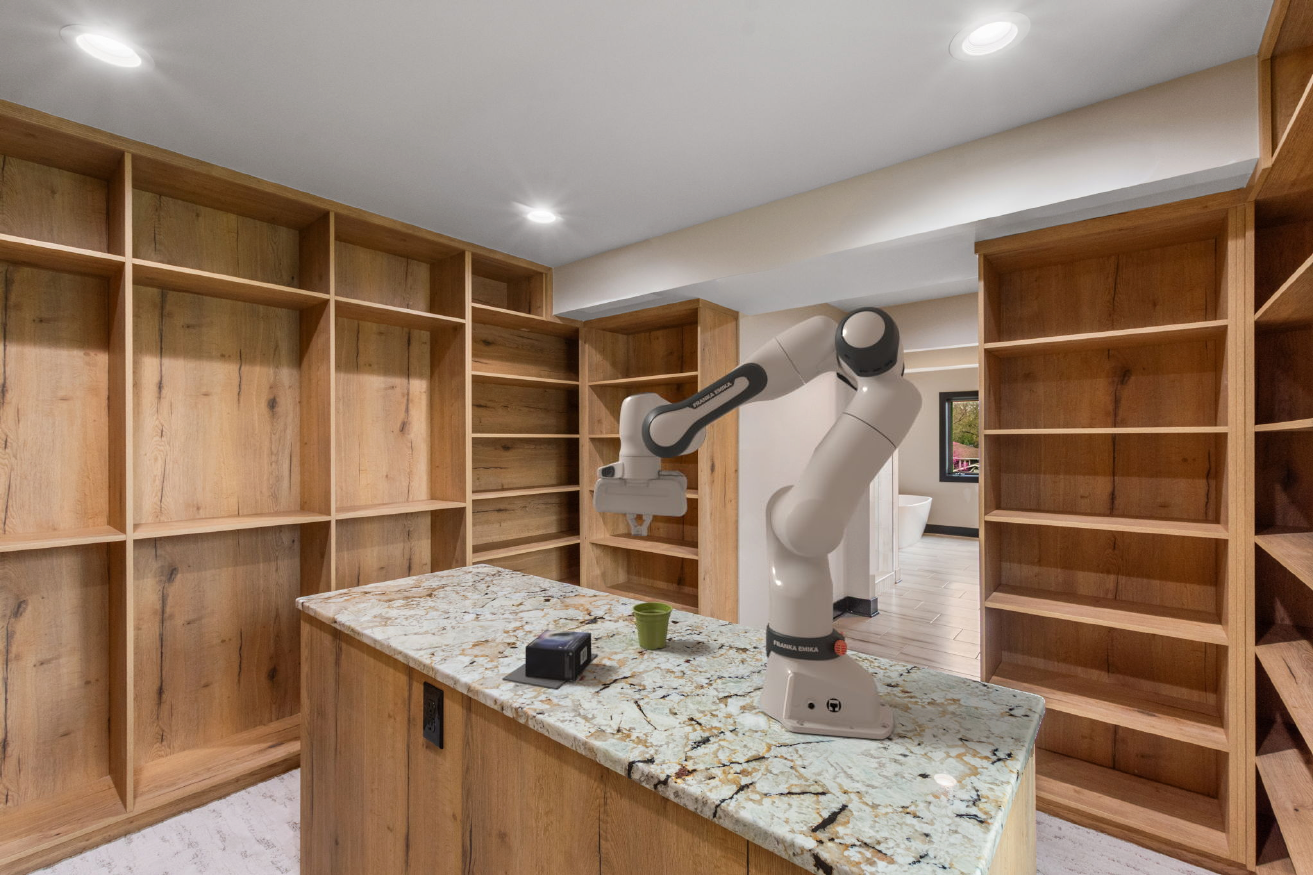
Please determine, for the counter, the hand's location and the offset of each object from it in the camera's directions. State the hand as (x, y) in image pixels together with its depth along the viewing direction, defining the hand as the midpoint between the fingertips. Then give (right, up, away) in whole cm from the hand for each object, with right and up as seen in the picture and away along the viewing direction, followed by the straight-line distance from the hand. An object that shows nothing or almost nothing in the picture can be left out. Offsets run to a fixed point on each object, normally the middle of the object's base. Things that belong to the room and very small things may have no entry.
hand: (639, 535), depth 120 cm
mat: (-18, -27, -2) cm, 32 cm away
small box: (-11, -24, -5) cm, 26 cm away
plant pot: (+3, -27, +11) cm, 29 cm away
